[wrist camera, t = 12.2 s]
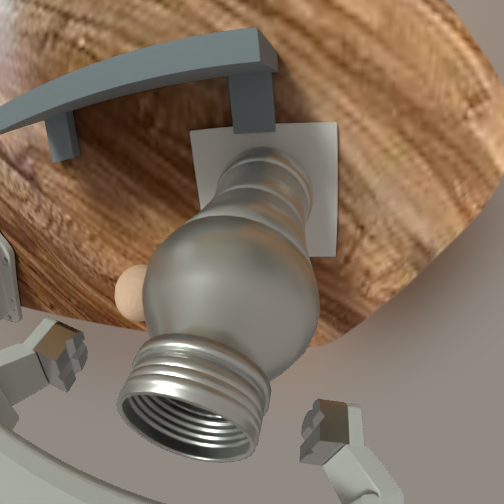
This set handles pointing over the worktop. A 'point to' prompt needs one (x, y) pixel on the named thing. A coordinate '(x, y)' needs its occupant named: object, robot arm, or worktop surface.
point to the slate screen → (156, 84)
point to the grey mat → (293, 142)
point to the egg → (131, 292)
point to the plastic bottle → (225, 312)
